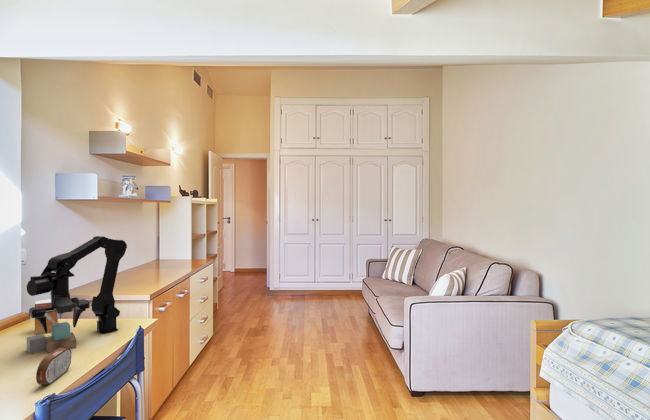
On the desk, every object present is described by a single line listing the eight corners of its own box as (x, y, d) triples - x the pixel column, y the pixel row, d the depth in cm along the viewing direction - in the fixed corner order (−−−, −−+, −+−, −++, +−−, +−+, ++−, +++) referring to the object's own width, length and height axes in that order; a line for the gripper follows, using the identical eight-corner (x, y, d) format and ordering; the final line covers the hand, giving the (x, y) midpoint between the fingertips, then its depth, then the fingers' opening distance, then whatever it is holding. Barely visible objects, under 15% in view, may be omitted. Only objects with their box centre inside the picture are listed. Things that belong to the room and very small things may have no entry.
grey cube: (42, 346, 152) (42, 333, 152) (46, 350, 149) (46, 337, 148) (26, 350, 148) (26, 337, 148) (29, 354, 145) (29, 340, 145)
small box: (34, 335, 164) (34, 304, 164) (35, 330, 170) (35, 300, 169) (58, 331, 169) (57, 301, 168) (58, 327, 174) (57, 298, 174)
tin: (63, 368, 133) (63, 343, 133) (73, 368, 133) (73, 343, 133) (34, 390, 118) (34, 362, 118) (46, 389, 118) (45, 362, 118)
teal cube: (66, 334, 155) (66, 321, 155) (70, 337, 152) (70, 324, 151) (51, 337, 151) (51, 324, 151) (54, 340, 148) (54, 327, 148)
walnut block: (72, 341, 158) (72, 332, 158) (76, 348, 151) (75, 338, 151) (45, 347, 152) (45, 337, 152) (47, 354, 145) (47, 343, 145)
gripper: (35, 298, 138) (36, 342, 139) (94, 289, 152) (94, 329, 153) (28, 292, 146) (28, 334, 147) (84, 284, 160) (85, 322, 160)
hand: (60, 330), depth 151 cm, fingers open, 9 cm apart
